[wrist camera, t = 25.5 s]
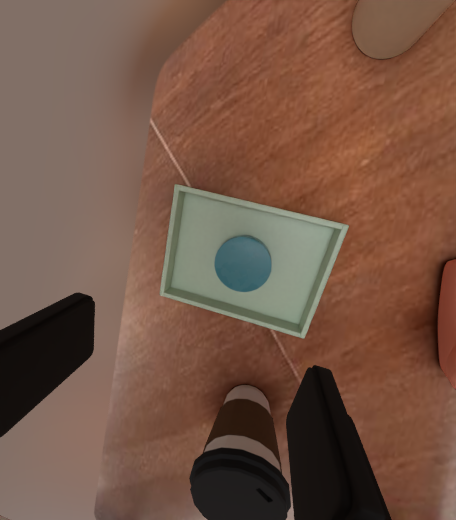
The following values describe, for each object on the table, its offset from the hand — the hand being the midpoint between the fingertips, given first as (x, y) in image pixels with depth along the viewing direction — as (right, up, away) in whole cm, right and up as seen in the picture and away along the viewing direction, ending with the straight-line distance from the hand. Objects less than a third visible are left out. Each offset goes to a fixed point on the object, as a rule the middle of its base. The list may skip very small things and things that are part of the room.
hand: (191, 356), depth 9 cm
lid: (+3, +4, +16) cm, 17 cm away
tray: (+4, +4, +18) cm, 19 cm away
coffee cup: (+5, -18, +24) cm, 31 cm away
